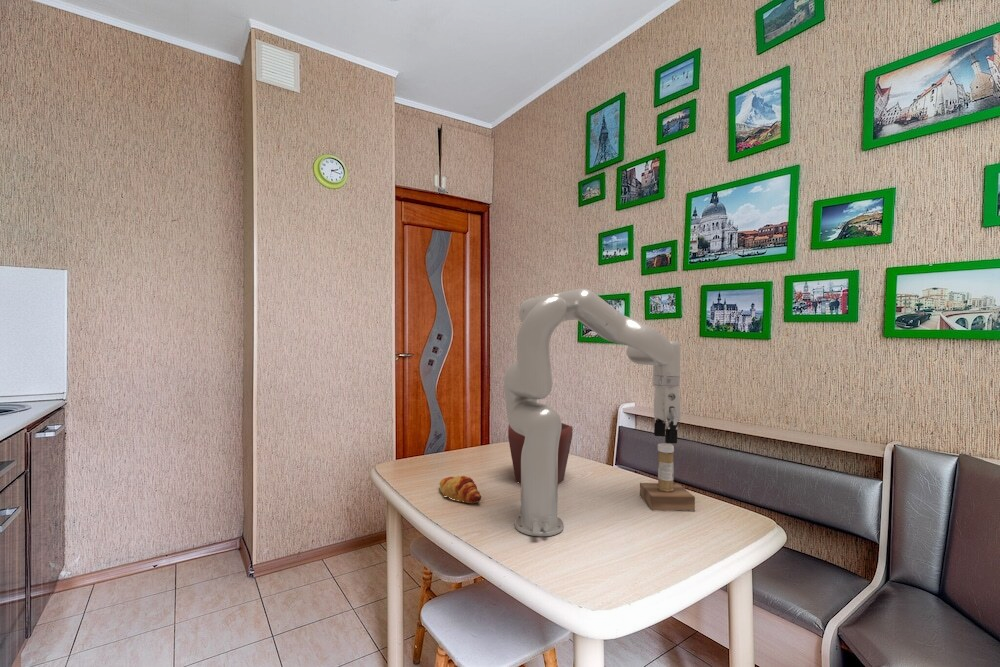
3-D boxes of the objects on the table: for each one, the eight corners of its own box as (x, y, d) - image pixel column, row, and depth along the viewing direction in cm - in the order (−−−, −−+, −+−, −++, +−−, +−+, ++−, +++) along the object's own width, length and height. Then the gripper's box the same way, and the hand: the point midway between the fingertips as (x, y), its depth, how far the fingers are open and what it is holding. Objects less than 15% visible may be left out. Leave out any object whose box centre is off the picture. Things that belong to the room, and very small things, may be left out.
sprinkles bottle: (661, 486, 135) (661, 442, 136) (676, 489, 132) (676, 444, 133) (654, 489, 132) (655, 444, 132) (670, 493, 129) (670, 447, 129)
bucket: (508, 468, 167) (509, 401, 167) (568, 469, 166) (568, 402, 166) (507, 490, 142) (508, 412, 143) (576, 492, 141) (577, 413, 142)
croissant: (433, 500, 143) (423, 480, 141) (456, 479, 149) (447, 460, 147) (472, 519, 127) (462, 497, 125) (496, 495, 133) (486, 474, 131)
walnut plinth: (694, 511, 126) (694, 497, 126) (652, 510, 126) (652, 496, 127) (678, 496, 138) (678, 483, 138) (639, 495, 138) (639, 483, 138)
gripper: (690, 384, 124) (689, 446, 124) (668, 379, 141) (667, 433, 141) (663, 384, 124) (662, 445, 124) (644, 379, 141) (643, 433, 141)
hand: (665, 439), depth 132 cm, fingers open, 9 cm apart
